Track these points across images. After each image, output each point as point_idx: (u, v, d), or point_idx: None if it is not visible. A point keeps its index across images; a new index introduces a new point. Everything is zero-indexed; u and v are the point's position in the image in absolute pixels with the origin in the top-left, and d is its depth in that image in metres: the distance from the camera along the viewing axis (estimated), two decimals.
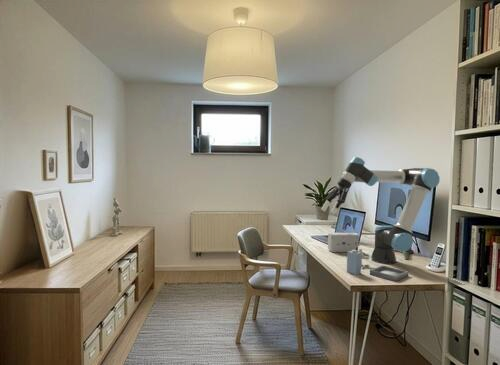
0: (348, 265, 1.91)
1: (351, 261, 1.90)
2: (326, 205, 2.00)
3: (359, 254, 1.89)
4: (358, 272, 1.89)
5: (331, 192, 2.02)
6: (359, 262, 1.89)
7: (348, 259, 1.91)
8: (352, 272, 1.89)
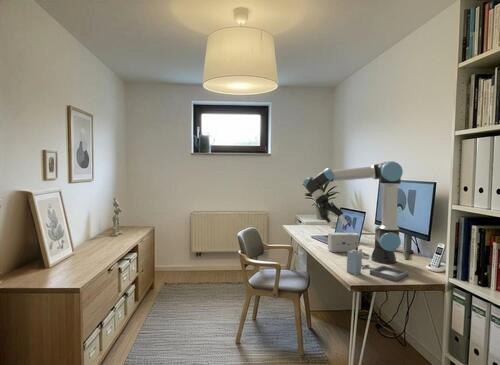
0: (348, 265, 1.91)
1: (351, 261, 1.90)
2: (342, 219, 2.04)
3: (359, 254, 1.89)
4: (358, 272, 1.89)
5: None
6: (359, 262, 1.89)
7: (348, 259, 1.91)
8: (352, 272, 1.89)
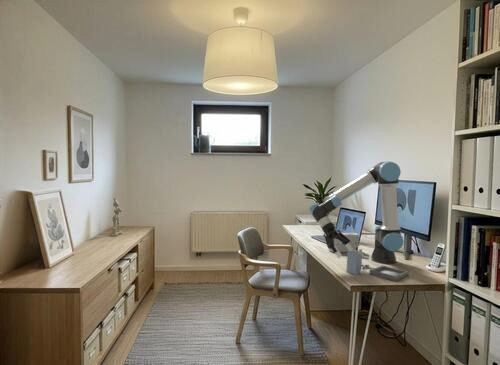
0: (348, 265, 1.91)
1: (351, 261, 1.90)
2: (349, 248, 2.00)
3: (359, 254, 1.89)
4: (358, 272, 1.89)
5: None
6: (359, 262, 1.89)
7: (348, 259, 1.91)
8: (352, 272, 1.89)
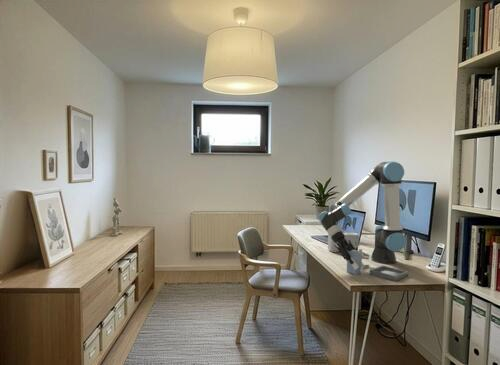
0: (348, 265, 1.91)
1: None
2: None
3: (359, 254, 1.89)
4: (358, 272, 1.89)
5: None
6: (359, 262, 1.89)
7: None
8: (352, 272, 1.89)
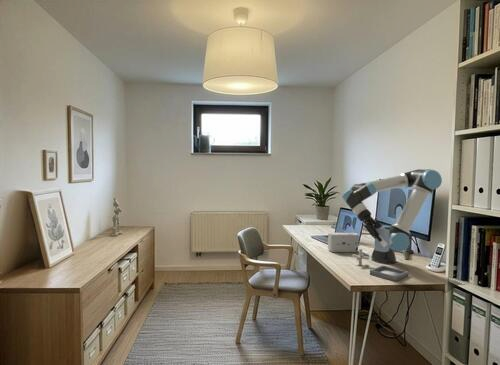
0: (375, 243, 1.88)
1: None
2: None
3: (387, 231, 1.85)
4: (387, 250, 1.86)
5: None
6: (387, 239, 1.86)
7: None
8: (380, 250, 1.86)
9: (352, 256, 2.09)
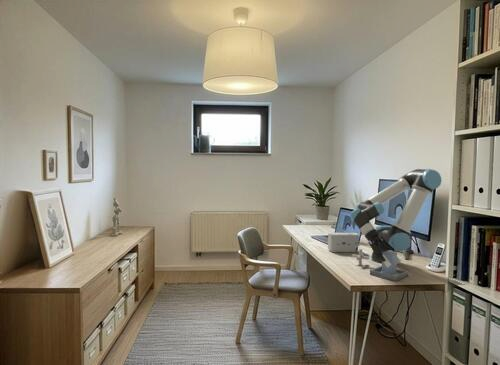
0: (383, 266, 1.88)
1: None
2: None
3: (395, 254, 1.86)
4: (394, 273, 1.86)
5: None
6: (395, 263, 1.86)
7: None
8: (388, 273, 1.86)
9: (352, 256, 2.09)
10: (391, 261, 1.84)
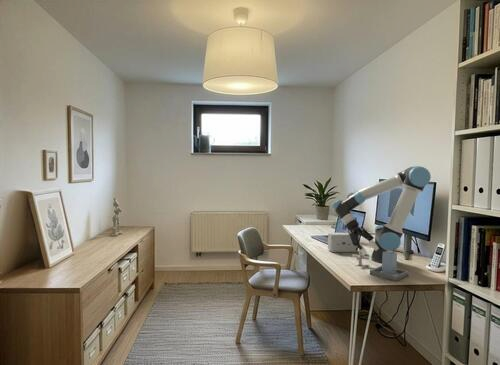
0: (383, 266, 1.88)
1: (386, 262, 1.86)
2: (373, 244, 2.02)
3: (395, 255, 1.85)
4: (394, 273, 1.86)
5: None
6: (395, 263, 1.86)
7: (383, 260, 1.88)
8: (388, 273, 1.86)
9: (352, 256, 2.09)
10: (391, 261, 1.84)
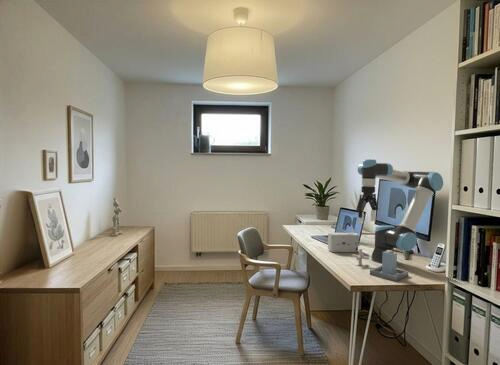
0: (383, 266, 1.88)
1: (386, 262, 1.86)
2: (372, 215, 1.98)
3: (395, 255, 1.85)
4: (394, 273, 1.86)
5: None
6: (395, 263, 1.86)
7: (383, 260, 1.88)
8: (388, 273, 1.86)
9: (352, 256, 2.09)
10: (391, 261, 1.84)
